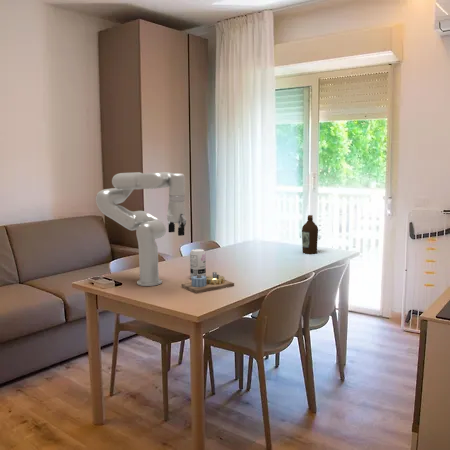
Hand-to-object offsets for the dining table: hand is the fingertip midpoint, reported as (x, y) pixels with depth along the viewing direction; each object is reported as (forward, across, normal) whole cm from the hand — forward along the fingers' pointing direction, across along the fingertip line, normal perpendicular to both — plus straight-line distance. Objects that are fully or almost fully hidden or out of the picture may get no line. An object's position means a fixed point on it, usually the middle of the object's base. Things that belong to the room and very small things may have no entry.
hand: (176, 233), depth 238 cm
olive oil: (+25, -21, +112) cm, 117 cm away
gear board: (+26, +10, +13) cm, 31 cm away
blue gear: (+25, +10, +8) cm, 28 cm away
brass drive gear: (+25, +10, +17) cm, 31 cm away
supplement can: (+27, -8, +18) cm, 33 cm away
